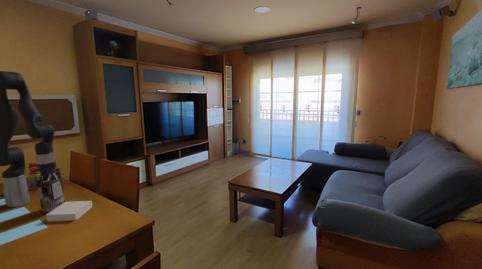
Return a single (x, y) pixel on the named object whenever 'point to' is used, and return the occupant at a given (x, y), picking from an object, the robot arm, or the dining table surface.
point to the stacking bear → (33, 176)
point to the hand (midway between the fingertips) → (51, 190)
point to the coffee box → (52, 195)
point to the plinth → (69, 211)
